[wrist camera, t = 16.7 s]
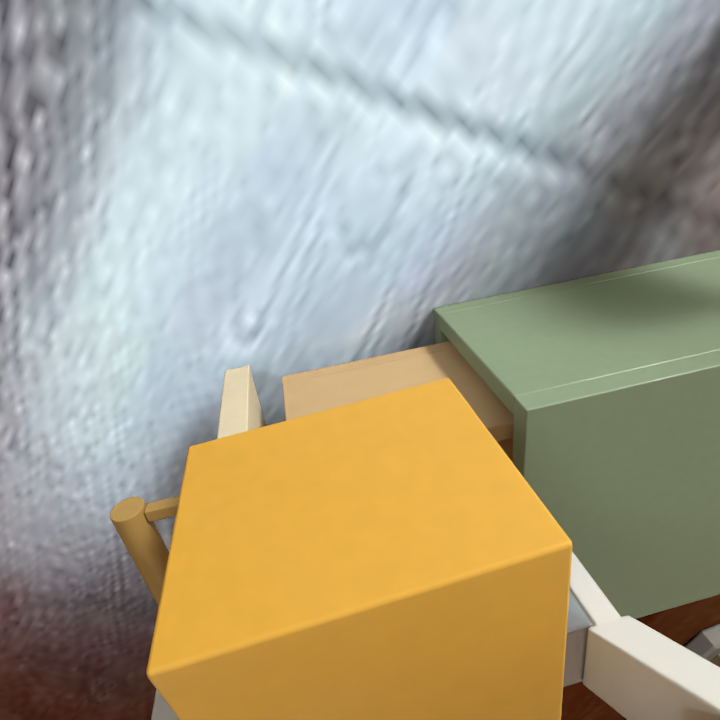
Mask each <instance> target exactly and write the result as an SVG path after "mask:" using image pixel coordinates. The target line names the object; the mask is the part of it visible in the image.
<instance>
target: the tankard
mask: <svg viewBox="0 0 720 720" xmlns="http://www.w3.org/2000/svg"><path fill="white" fill-rule="evenodd" d="M684 647H685V648H687V649H688V650H690V651H692V652H694V653H695V654H697V655H699V656H701V657H702V658H704V659H706V660H708V661H709V662H711V663H713V664H715V665H716V666H718V667H720V624H717V625H715V626H712V627H710V628H707V629H705V630H702V631H700V632H699V633H698V634H697V635H696V636H695V637H694V638H693V639H692V640H691V641H690V642H688V643H687V644H686V645H685V646H684Z"/></svg>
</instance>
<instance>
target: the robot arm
mask: <svg viewBox="0 0 720 720" xmlns="http://www.w3.org/2000/svg"><path fill="white" fill-rule="evenodd" d="M581 681H583V684H584V685H585V686H586V687H587V688H589V689H590V690H591V691H592V692H594V693H595V694H596V695H597V696H599V697H600V698H601V699H602V700H604V701H605V702H606V703H607V704H608V705H610V706H611V707H612V708H613V709H615V710H616V711H617V712H618V713H620V714H621V715H622V716H623V717H625V718H626V719H627V720H720V667H718V666H716V665H715V664H713V663H711V662H709V661H708V660H706V659H704V658H702V657H701V656H699V655H697V654H695V653H694V652H692V651H690V650H688V649H687V648H685V647H683V646H681V645H680V644H678V643H676V642H674V641H673V640H671V639H669V638H667V637H666V636H664V635H662V634H660V633H659V632H657V631H655V630H653V629H652V628H650V627H648V626H646V625H645V624H643V623H641V622H639V621H638V620H636V619H634V618H632V617H631V616H629V615H627V616H623V617H621V616H620V615H619V613H618V612H617V611H616V609H615V608H614V607H613V605H612V604H611V603H610V601H609V600H608V599H607V597H606V596H605V595H604V593H603V592H602V591H601V589H600V588H599V586H598V585H597V584H596V582H595V581H594V580H593V578H592V577H591V576H590V574H589V573H588V572H587V570H586V569H585V568H584V566H583V565H582V564H581V562H580V561H579V560H578V558H577V557H576V556H575V554H574V553H573V552H572V562H571V577H570V592H569V607H568V622H567V636H566V651H565V666H564V681H563V687H565V686H568V685H571V684H575V683H578V682H581ZM151 720H179V719H178V717H177V716H176V715H175V713H174V712H173V711H172V709H171V708H170V706H169V705H168V704H167V702H166V701H165V700H164V698H163V697H162V696H161V694H160V693H159V692H158V690H157V689H156V694H155V700H154V706H153V712H152V718H151Z"/></svg>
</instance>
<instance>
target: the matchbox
mask: <svg viewBox="0 0 720 720" xmlns="http://www.w3.org/2000/svg"><path fill="white" fill-rule="evenodd" d="M572 548H573V545H572V542H571V540H570V539H569V537H568V536H567V535H566V533H565V532H564V531H563V529H562V528H561V527H560V525H559V524H558V523H557V521H556V520H555V519H554V517H553V516H552V515H551V513H550V512H549V511H548V509H547V508H546V507H545V505H544V504H543V503H542V501H541V500H540V499H539V497H538V496H537V495H536V493H535V492H534V491H533V489H532V488H531V487H530V485H529V484H528V483H527V481H526V480H525V479H524V477H523V476H522V475H521V473H520V472H519V471H518V469H517V468H516V467H515V465H514V464H513V463H512V461H511V460H510V459H509V457H508V456H507V455H506V453H505V452H504V451H503V449H502V448H501V447H500V445H499V444H498V443H497V441H496V440H495V439H494V437H493V436H492V435H491V433H490V432H489V431H488V429H487V428H486V427H485V425H484V424H483V423H482V421H481V420H480V419H479V417H478V416H477V415H476V413H475V412H474V411H473V409H472V408H471V407H470V405H469V404H468V403H467V401H466V400H465V399H464V397H463V396H462V395H461V393H460V392H459V391H458V389H457V388H456V387H455V385H454V384H453V383H452V381H451V380H450V379H449V378H444V379H441V380H437V381H433V382H429V383H425V384H422V385H418V386H414V387H410V388H407V389H403V390H399V391H395V392H392V393H388V394H384V395H380V396H377V397H373V398H369V399H365V400H362V401H358V402H354V403H350V404H347V405H343V406H339V407H335V408H332V409H328V410H324V411H320V412H317V413H313V414H309V415H305V416H302V417H298V418H294V419H290V420H287V421H283V422H279V423H275V424H271V425H268V426H264V427H260V428H256V429H253V430H249V431H245V432H241V433H238V434H234V435H230V436H226V437H223V438H219V439H215V440H211V441H208V442H204V443H200V444H196V445H193V446H190V447H189V449H188V454H187V460H186V465H185V470H184V476H183V481H182V486H181V491H180V497H179V502H178V507H177V513H176V518H175V523H174V529H173V534H172V539H171V544H170V550H169V555H168V560H167V566H166V571H165V576H164V581H163V587H162V592H161V597H160V603H159V608H158V613H157V619H156V624H155V629H154V634H153V640H152V645H151V650H150V656H149V661H148V666H147V676H148V678H149V680H150V681H151V682H152V684H153V685H154V686H155V688H156V689H157V690H158V692H159V693H160V694H161V696H162V697H163V698H164V700H165V701H166V702H167V704H168V705H169V706H170V708H171V709H172V711H173V712H174V713H175V715H176V716H177V717H178V719H179V720H561V710H562V696H563V681H564V666H565V651H566V636H567V622H568V607H569V592H570V577H571V562H572Z"/></svg>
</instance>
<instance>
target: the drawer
mask: <svg viewBox="0 0 720 720" xmlns="http://www.w3.org/2000/svg"><path fill="white" fill-rule="evenodd" d="M444 378H449V379H450V380H451V381H452V383H453V384H454V385H455V387H456V388H457V389H458V391H459V392H460V393H461V395H462V396H463V397H464V399H465V400H466V401H467V403H468V404H469V405H470V407H471V408H472V409H473V411H474V412H475V413H476V415H477V416H478V417H479V419H480V420H481V421H482V423H483V424H484V425H485V427H486V428H487V429H488V431H489V432H490V433H491V435H492V436H493V437H494V439H495V440H496V441H497V443H498V444H499V445H500V447H501V448H502V449H503V451H504V452H505V453H506V455H507V456H508V457H509V459H510V460H511V461H512V463H513V434H514V415H513V414H512V413H511V412H510V411H509V410H508V408H507V407H506V406H505V405H504V404H503V403H502V401H501V400H500V399H499V398H498V397H497V396H496V394H495V393H494V392H493V391H492V390H491V389H490V387H489V386H488V385H487V384H486V383H485V382H484V380H483V379H482V378H481V377H480V376H479V375H478V373H477V372H476V371H475V370H474V369H473V368H472V366H471V365H470V364H469V363H468V362H467V360H466V359H465V358H464V357H463V356H462V355H461V353H460V352H459V351H458V350H457V349H456V348H455V346H454V345H453V344H452V343H451V342H450V341H447V342H443V343H438V344H433V345H429V346H424V347H419V348H414V349H410V350H405V351H400V352H396V353H391V354H386V355H381V356H377V357H372V358H367V359H362V360H358V361H353V362H348V363H344V364H339V365H334V366H329V367H325V368H320V369H315V370H311V371H306V372H301V373H296V374H292V375H287V376H282V385H283V396H284V407H285V417H286V421H287V420H290V419H294V418H298V417H302V416H305V415H309V414H313V413H317V412H320V411H324V410H328V409H332V408H335V407H339V406H343V405H347V404H350V403H354V402H358V401H362V400H365V399H369V398H373V397H377V396H380V395H384V394H388V393H392V392H395V391H399V390H403V389H407V388H410V387H414V386H418V385H422V384H425V383H429V382H433V381H437V380H441V379H444ZM264 426H266V423H265V420H264V416H263V412H262V409H261V405H260V402H259V398H258V395H257V391H256V388H255V384H254V381H253V377H252V374H251V370H250V367H249V366H245V367H240V368H235V369H230V370H226V371H225V376H224V385H223V393H222V401H221V410H220V418H219V427H218V435H217V439H219V438H223V437H226V436H230V435H234V434H238V433H241V432H245V431H249V430H253V429H256V428H260V427H264ZM179 497H180V496H176V497H172V498H168V499H163V500H159V501H155V502H151V503H147V505H146V504H145V502H144V500H143V499H142V498H140V497H130V498H127V499H125V500H123V501H121V502H119V503H118V504H117V505H116V506H115V507H114V508H113V509H112V511H111V513H110V519H111V520H112V522H113V524H114V526H115V528H116V530H117V531H118V533H119V535H120V537H121V539H122V541H123V542H124V544H125V546H126V548H127V550H128V552H129V553H130V555H131V557H132V559H133V561H134V563H135V564H136V566H137V568H138V570H139V572H140V573H141V575H142V577H143V579H144V581H145V583H146V584H147V586H148V588H149V590H150V592H151V594H152V595H153V597H154V599H155V601H156V603H157V605H158V606H159V603H160V597H161V592H162V587H163V581H164V576H165V571H166V566H167V560H168V555H169V551H168V549H167V547H166V545H165V543H164V541H163V539H162V537H161V535H160V533H159V531H158V529H157V527H156V525H155V523H154V521H157V520H161V519H165V518H169V517H173V516H176V513H177V507H178V502H179Z"/></svg>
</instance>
